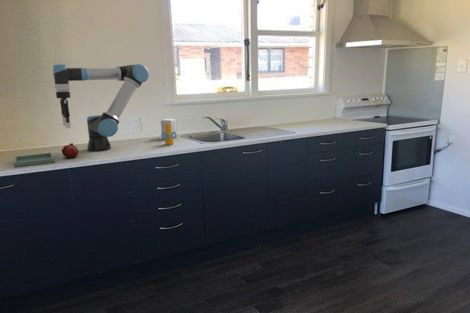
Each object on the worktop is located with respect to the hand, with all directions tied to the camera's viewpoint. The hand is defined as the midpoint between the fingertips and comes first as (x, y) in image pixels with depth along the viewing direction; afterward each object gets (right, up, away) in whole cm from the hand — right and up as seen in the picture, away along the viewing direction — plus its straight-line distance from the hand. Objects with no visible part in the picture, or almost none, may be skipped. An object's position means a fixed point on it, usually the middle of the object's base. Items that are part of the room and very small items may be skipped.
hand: (67, 126), depth 223 cm
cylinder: (+55, -9, +41) cm, 69 cm away
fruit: (+1, -19, +4) cm, 20 cm away
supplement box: (+51, -4, +66) cm, 83 cm away
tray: (-18, -21, -4) cm, 28 cm away
